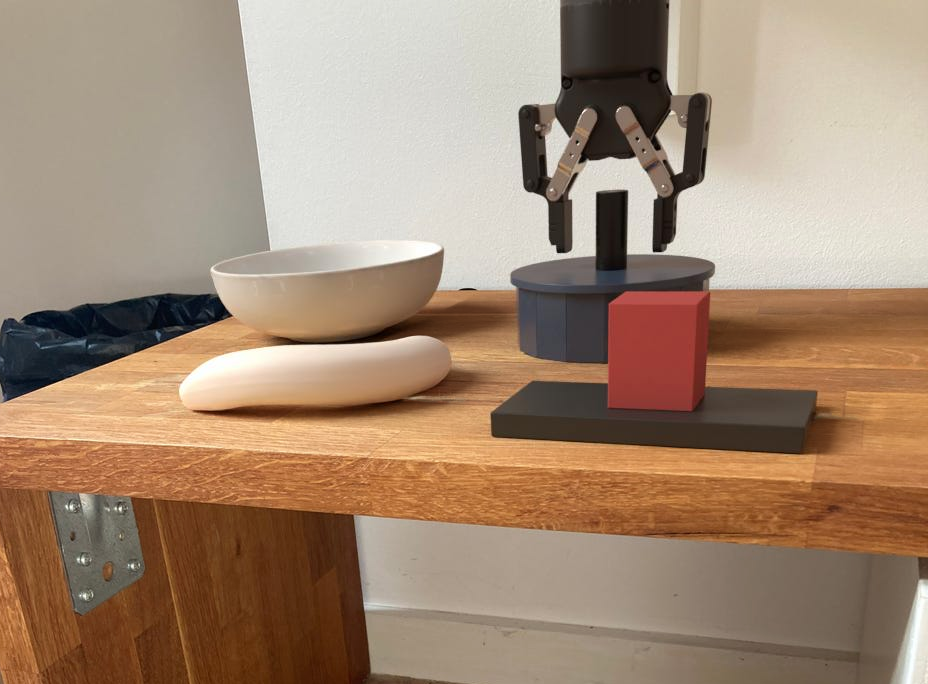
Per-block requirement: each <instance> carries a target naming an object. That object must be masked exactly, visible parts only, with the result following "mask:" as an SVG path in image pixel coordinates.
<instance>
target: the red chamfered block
mask: <svg viewBox="0 0 928 684" xmlns="http://www.w3.org/2000/svg"><path fill="white" fill-rule="evenodd" d="M710 306H711V291H709V292H655V291H626V292H625V293H623V294H622V295H620V296H619V297H618V298H616V299H615V300H613V301H612V302H611V303H609V340H608V364H607V383H608V408H615V409H639V410H662V411H685V412H692V411H693V410H694V409H695V407H696V406H697V405H698V403H699V402H700V400H701V399H702V397H703V396H704V394H705V387H706V382H707V381H706V380H707V361H708V344H709V323H710Z"/></svg>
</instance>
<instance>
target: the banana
mask: <svg viewBox="0 0 928 684" xmlns="http://www.w3.org/2000/svg"><path fill="white" fill-rule="evenodd" d="M452 362H453V361H452V354H451V350H450V349H449V347H448V346H447V344H446V343H445V342H443V341H442V340H440V339H438V338H435V337H432V336H428V335H412V336H407V337H402V338H398V339H393V340H392V339H391V340H386V341H378V342H377V341H375V342H362V343H345V344H344V343H343V344H289V345H286V344H285V345H272V346H264V347H257V348H256V347H255V348H250V349H244V350H243V349H242V350H238V351H232V352H229V353H225V354H222V355H219V356H215V357H213V358H211V359H209V360H206V361H205V362H203V363H202V364H201V365H199V366H198V367H196V368H195V369H194V370H193V371H192V372H191V373H189V375H188V376H187V377H186V378H185V379H184V380H183V382H181V384H180V386H179V389H178V394H179V398H180V400H181V402H182V404H183V405H184V408H187V409H189V410H190V411H226V410H232V409H237V408H244V407H252V406H253V407H254V406H273V405H277V406H279V405H280V406H281V405H283V406H284V405H285V406H286V405H287V406H298V405H299V406H352V405H353V406H354V405H366V404H367V405H368V404H379V403H386V402H387V403H388V402H392V401H398V400H402V399H406V398H409V397H412V396H414V395H415V394H418V393H422V392H424V391H428V390H430V389H431V388H434V387H436V386H437V385H438V384H440V383H441V381H443V380H444V379H445V378H446V377H447V375H448V374H449V372H450V371H451V370H452V369H451V368H452V365H453V363H452Z"/></svg>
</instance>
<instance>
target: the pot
mask: <svg viewBox="0 0 928 684" xmlns="http://www.w3.org/2000/svg"><path fill="white" fill-rule="evenodd" d="M710 279H711V278H709V279H707V280H704V281H701V282H698V283H694V284H690V285H685V286H679V287H673V288H666V289H658V290H649V291H655V292H710V282H711V281H710ZM515 288H516V289H515V293H516V323H517V324H516V325H517V326H516V327H517V344H518V348H519V351H520V352H522V353H523V354H524V355H527V356H528V357H531V358H535V359H539V360H545V361H548V362H549V361H550V362H557V363H568V364H569V363H570V364H585V365H586V364H589V365H590V364H591V365H595V364H597V365H601V364H602V365H603V364H604V365H606V364H607V365H608V340H609V303H611V302H612V301H613V300H615V299H616V298H618V297H619V296H620V295H622V294H623V293H601V294H570V293H550V292H539V291H532V290H526V289H522V288H518V287H516V286H515ZM624 293H625V292H624Z"/></svg>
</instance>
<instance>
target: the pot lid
mask: <svg viewBox="0 0 928 684" xmlns="http://www.w3.org/2000/svg"><path fill="white" fill-rule="evenodd" d="M628 225H629V190H628V189H605V190H598V191H596V192H595V255H591V256H588V255H587V256H579V257H578V256H577V257H571V258H570V257H569V258H568V257H567V258H560V259H553V260H547V261H541V262H536V263H531V264H527V265H524V266H521V267H518V268H516V269H514V270H512V271H511V272H510V274H509V279H510V281H509V282H510V284H511V285H512V286H514V287H515V288H516V287H518V288H522V289H526V290H532V291H539V292H550V293H570V294H601V293H624V292H626V291H649V290H658V289H666V288H673V287H679V286H685V285H690V284H694V283H698V282H701V281H704V280H707V279H709V278H710V279H711V278H712V277H714V275H715V274H716V264H715V262H713V261H710V260H708V259H705V258H701V257H696V256H686V255H677V254H656V253H655V254H654V253H652V254H651V253H649V254H648V253H647V254H643V253H639V254H637V253H634V254H632V253H631V254H629V253H628V230H629V229H628V228H629V227H628Z"/></svg>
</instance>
